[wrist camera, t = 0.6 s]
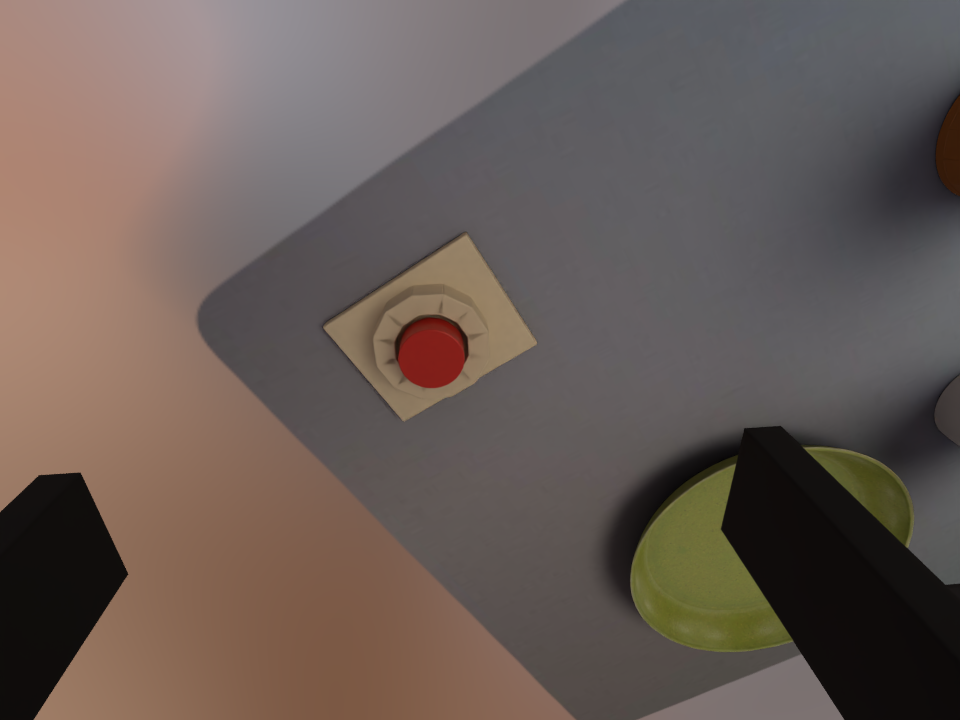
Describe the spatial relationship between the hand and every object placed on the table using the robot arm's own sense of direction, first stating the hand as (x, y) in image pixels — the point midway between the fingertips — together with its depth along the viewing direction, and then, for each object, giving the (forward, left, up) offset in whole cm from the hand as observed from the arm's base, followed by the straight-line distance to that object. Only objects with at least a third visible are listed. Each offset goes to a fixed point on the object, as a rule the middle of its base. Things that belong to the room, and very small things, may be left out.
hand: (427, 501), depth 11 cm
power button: (+5, +1, -19) cm, 20 cm away
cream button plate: (+5, +1, -21) cm, 22 cm away
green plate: (+18, +28, -21) cm, 39 cm away
